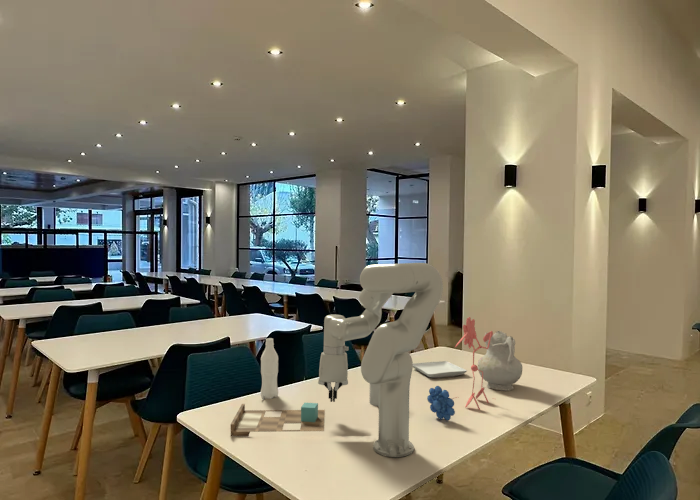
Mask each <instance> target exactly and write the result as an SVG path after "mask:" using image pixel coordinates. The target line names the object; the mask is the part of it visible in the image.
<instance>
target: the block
mask: <svg viewBox="0 0 700 500" xmlns="http://www.w3.org/2000/svg"><path fill="white" fill-rule="evenodd" d="M300 410H301V421H304V422H315V421H316V419H317V418H318V410H319V403H318V402H303V404H302V406H301V407H300Z"/></svg>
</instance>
